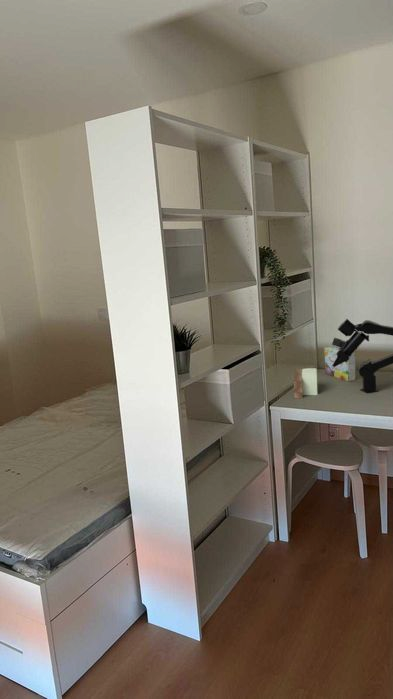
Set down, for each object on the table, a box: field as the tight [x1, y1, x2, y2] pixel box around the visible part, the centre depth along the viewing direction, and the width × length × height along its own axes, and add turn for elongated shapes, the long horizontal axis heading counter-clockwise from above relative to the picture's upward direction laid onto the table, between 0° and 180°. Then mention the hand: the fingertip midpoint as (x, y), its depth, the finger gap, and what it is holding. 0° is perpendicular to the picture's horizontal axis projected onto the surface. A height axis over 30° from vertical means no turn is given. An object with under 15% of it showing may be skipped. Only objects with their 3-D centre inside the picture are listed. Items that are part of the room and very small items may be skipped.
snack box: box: [323, 346, 357, 382], centre depth 290 cm, size 21×6×15 cm, turn 21°
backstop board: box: [293, 369, 304, 399], centre depth 269 cm, size 4×20×9 cm, turn 168°
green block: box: [301, 367, 318, 396], centre depth 268 cm, size 7×10×11 cm
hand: (333, 366), depth 265 cm, fingers closed
